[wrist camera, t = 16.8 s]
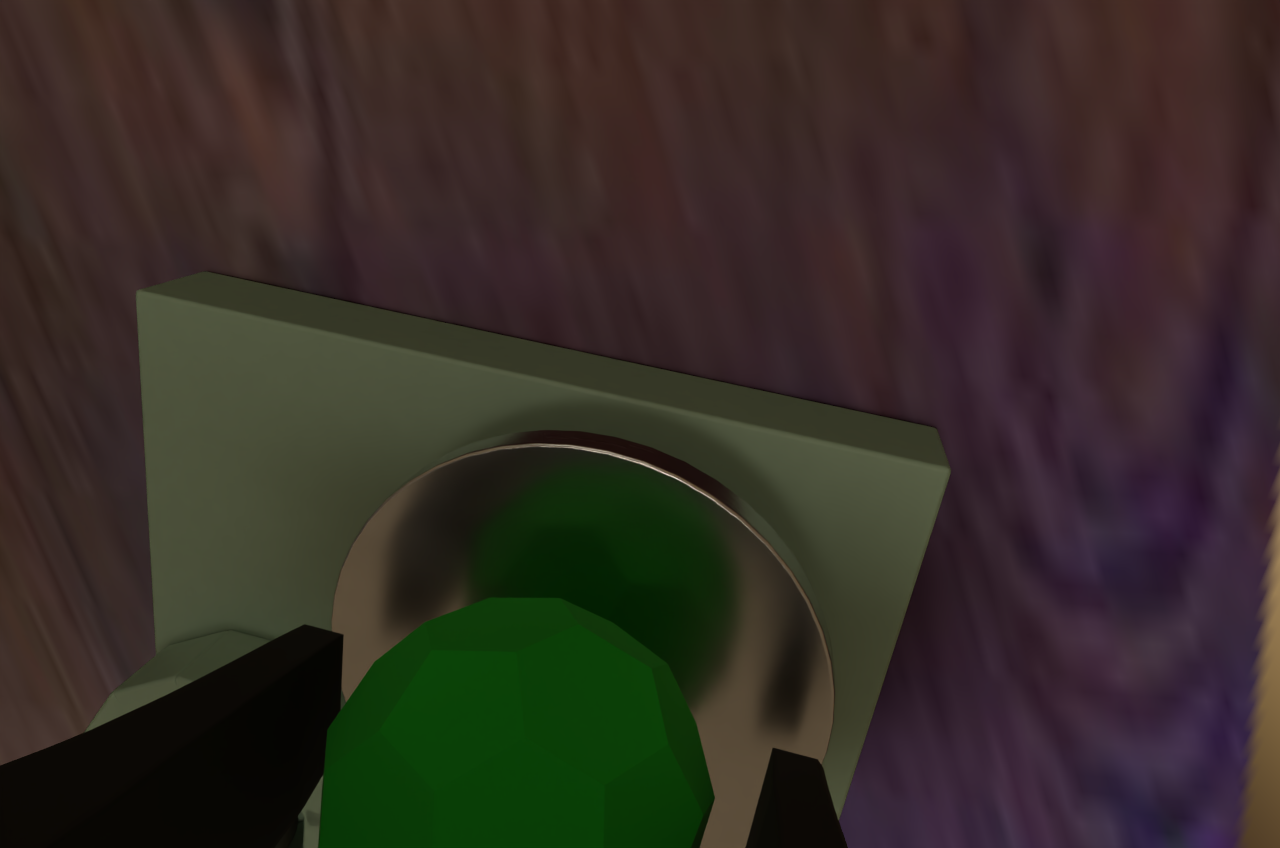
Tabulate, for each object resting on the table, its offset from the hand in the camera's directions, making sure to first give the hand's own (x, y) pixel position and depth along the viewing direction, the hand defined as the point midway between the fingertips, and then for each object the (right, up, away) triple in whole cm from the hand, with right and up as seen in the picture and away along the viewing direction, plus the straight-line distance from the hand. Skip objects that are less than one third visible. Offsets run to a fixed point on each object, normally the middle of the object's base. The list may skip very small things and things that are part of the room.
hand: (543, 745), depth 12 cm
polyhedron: (0, +1, +1) cm, 2 cm away
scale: (-1, 0, +6) cm, 6 cm away
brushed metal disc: (0, +1, +2) cm, 2 cm away
